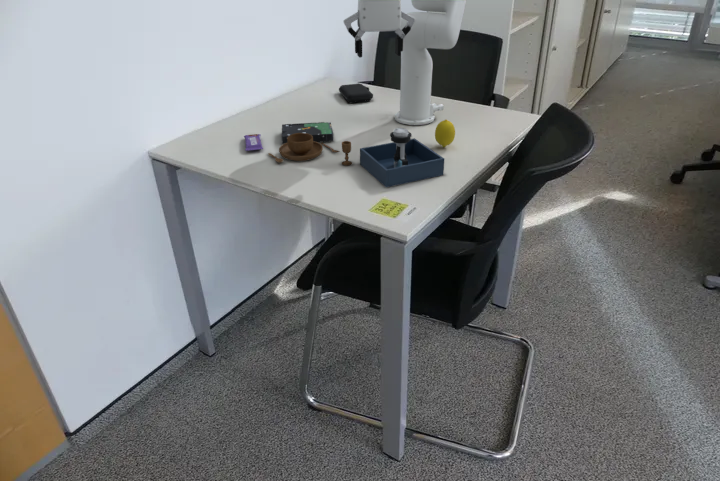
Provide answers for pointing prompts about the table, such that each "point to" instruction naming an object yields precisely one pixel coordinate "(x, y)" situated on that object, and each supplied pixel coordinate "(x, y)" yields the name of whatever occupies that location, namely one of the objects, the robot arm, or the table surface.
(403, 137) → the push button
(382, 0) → the robot arm
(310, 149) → the place setting
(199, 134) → the table surface
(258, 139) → the snack package
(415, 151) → the bin
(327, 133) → the disk drive
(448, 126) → the lemon
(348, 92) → the carrying case
